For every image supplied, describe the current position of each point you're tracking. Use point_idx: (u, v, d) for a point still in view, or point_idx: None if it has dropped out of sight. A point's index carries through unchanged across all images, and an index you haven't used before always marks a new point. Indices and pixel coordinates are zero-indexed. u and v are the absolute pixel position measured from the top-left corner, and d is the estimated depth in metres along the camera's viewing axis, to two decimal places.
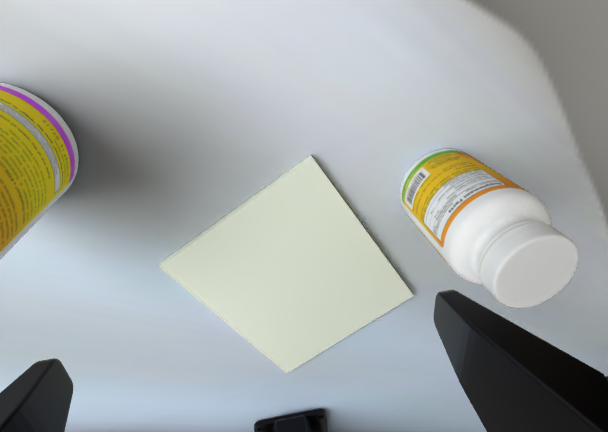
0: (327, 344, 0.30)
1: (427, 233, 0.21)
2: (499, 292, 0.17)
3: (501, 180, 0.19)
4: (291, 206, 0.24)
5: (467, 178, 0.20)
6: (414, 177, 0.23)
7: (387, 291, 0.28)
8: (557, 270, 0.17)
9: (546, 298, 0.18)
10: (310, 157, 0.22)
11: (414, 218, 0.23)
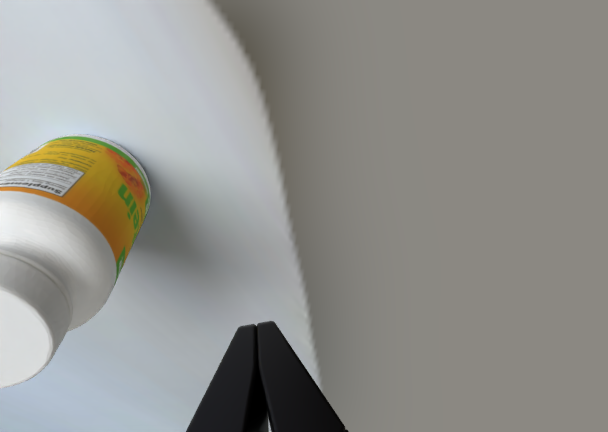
0: None
1: None
2: None
3: (74, 191, 0.13)
4: None
5: (40, 169, 0.13)
6: (32, 151, 0.16)
7: None
8: (11, 346, 0.10)
9: None
10: None
11: None
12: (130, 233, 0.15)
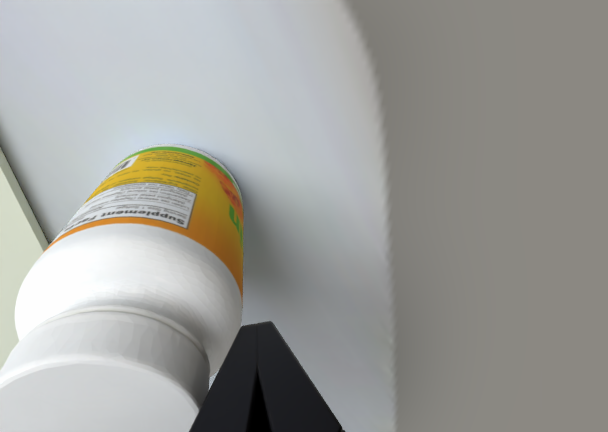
0: None
1: None
2: None
3: (196, 220, 0.10)
4: None
5: (149, 191, 0.10)
6: (119, 164, 0.13)
7: None
8: None
9: None
10: None
11: None
12: (242, 265, 0.12)
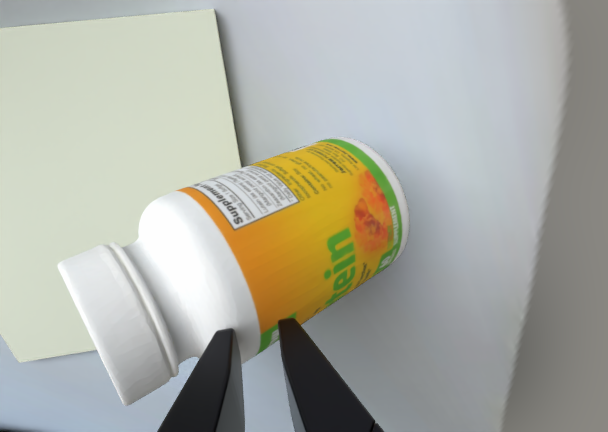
0: None
1: None
2: None
3: (259, 226, 0.10)
4: (140, 76, 0.13)
5: (256, 181, 0.11)
6: None
7: None
8: None
9: None
10: (210, 9, 0.13)
11: None
12: (318, 296, 0.11)
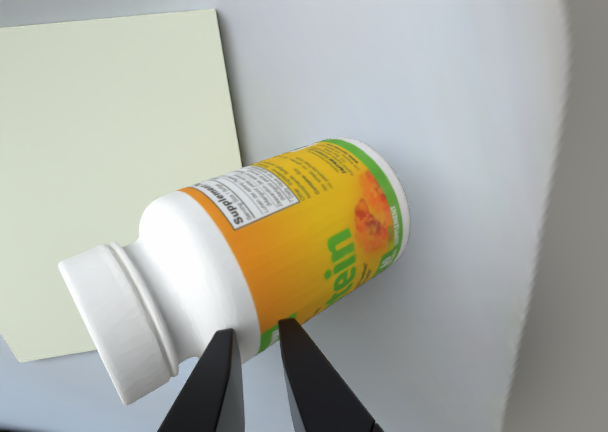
0: None
1: None
2: None
3: (259, 226, 0.10)
4: (141, 76, 0.13)
5: (257, 181, 0.11)
6: None
7: None
8: None
9: None
10: (211, 9, 0.13)
11: None
12: (319, 296, 0.11)
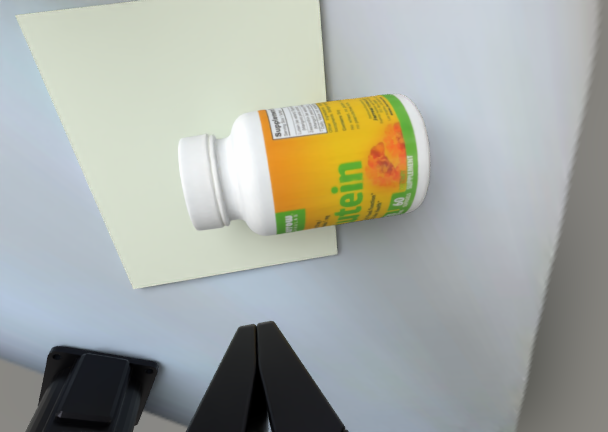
0: (206, 271, 0.22)
1: None
2: None
3: (290, 141, 0.14)
4: (256, 37, 0.16)
5: (305, 113, 0.15)
6: None
7: (312, 232, 0.22)
8: None
9: None
10: None
11: None
12: (325, 204, 0.15)
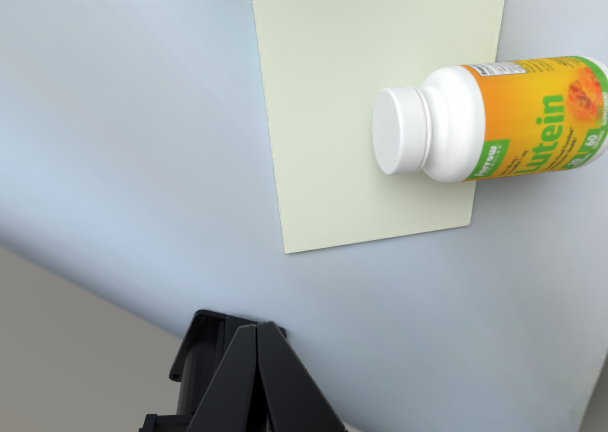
0: (352, 238, 0.23)
1: None
2: (373, 126, 0.19)
3: (497, 78, 0.16)
4: (447, 15, 0.18)
5: (499, 63, 0.17)
6: None
7: (452, 203, 0.23)
8: (391, 145, 0.17)
9: (385, 170, 0.18)
10: None
11: None
12: (528, 136, 0.16)
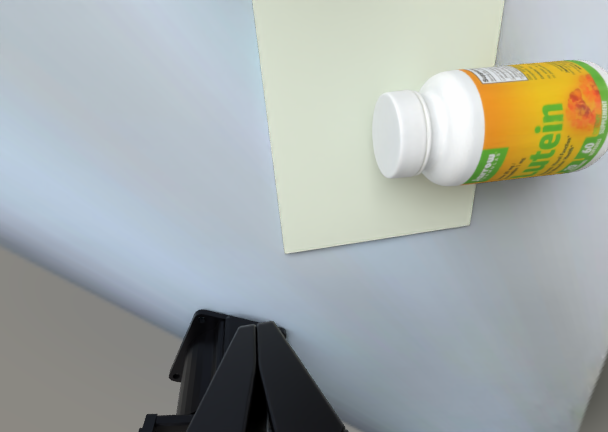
0: (352, 238, 0.23)
1: None
2: (373, 127, 0.19)
3: (498, 85, 0.16)
4: (447, 15, 0.18)
5: (500, 68, 0.17)
6: None
7: (452, 203, 0.23)
8: (391, 150, 0.17)
9: (384, 173, 0.18)
10: None
11: None
12: (527, 144, 0.16)
